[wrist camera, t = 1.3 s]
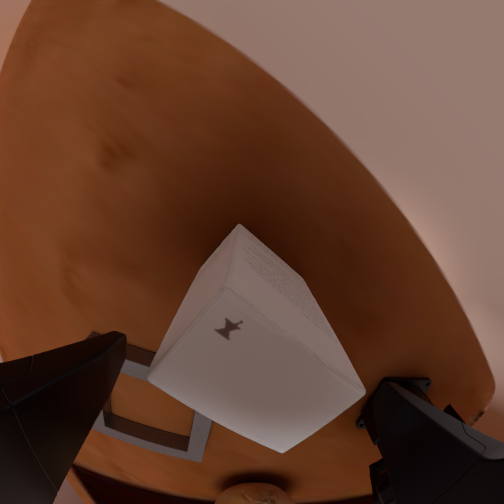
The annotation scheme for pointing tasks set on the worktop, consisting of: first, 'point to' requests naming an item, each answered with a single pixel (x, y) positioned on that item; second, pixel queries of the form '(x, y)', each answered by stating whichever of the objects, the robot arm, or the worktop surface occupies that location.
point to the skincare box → (255, 349)
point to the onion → (254, 494)
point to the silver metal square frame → (145, 435)
